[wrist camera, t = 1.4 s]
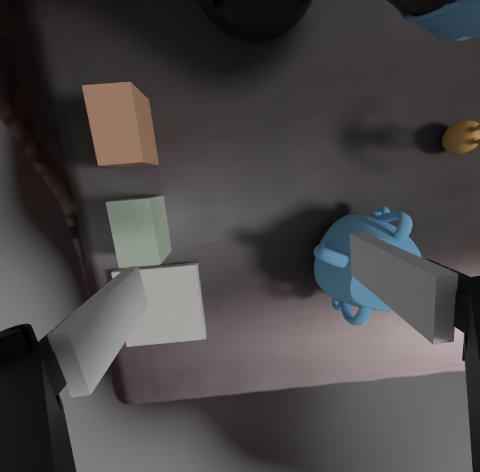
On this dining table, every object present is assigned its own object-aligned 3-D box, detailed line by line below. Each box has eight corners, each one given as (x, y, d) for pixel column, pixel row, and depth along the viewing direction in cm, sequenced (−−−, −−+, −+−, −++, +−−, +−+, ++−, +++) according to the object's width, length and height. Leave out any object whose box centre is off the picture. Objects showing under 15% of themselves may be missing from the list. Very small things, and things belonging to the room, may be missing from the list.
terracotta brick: (109, 103, 31) (81, 85, 26) (149, 100, 31) (130, 81, 26) (121, 168, 33) (98, 165, 27) (158, 165, 33) (143, 161, 27)
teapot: (294, 228, 36) (316, 251, 25) (390, 191, 35) (457, 199, 24) (320, 300, 39) (350, 350, 28) (409, 269, 38) (478, 308, 27)
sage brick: (127, 198, 34) (105, 202, 28) (163, 195, 34) (149, 198, 28) (137, 253, 36) (118, 268, 30) (171, 250, 36) (160, 264, 30)
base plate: (115, 269, 36) (111, 272, 35) (197, 262, 36) (196, 264, 35) (130, 341, 39) (126, 346, 38) (206, 334, 39) (205, 339, 38)
